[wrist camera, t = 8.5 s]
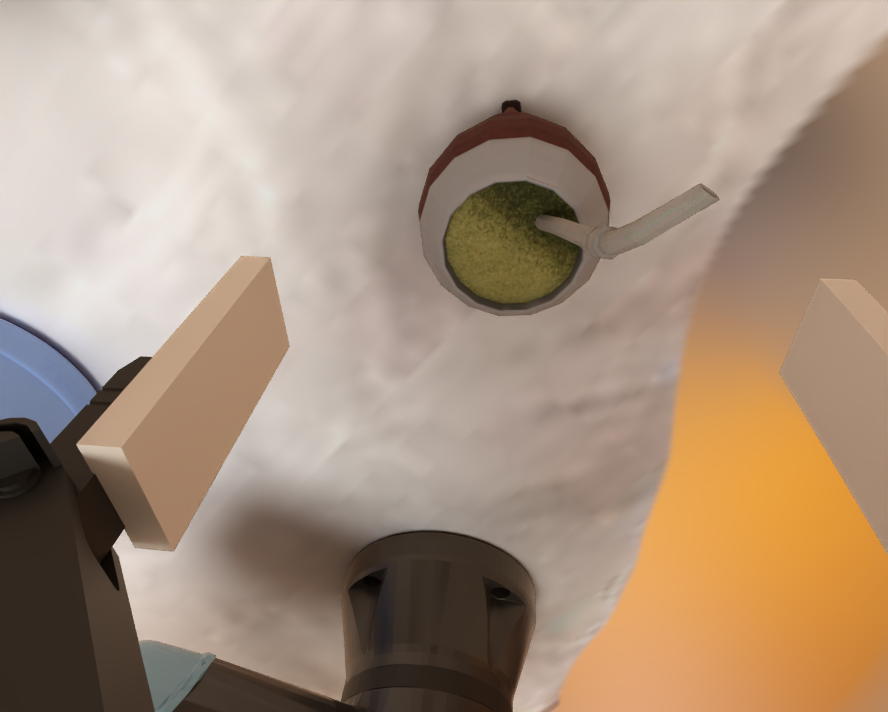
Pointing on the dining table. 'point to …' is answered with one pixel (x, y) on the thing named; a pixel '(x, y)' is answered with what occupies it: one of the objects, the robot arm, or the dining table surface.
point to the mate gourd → (526, 215)
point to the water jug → (39, 382)
